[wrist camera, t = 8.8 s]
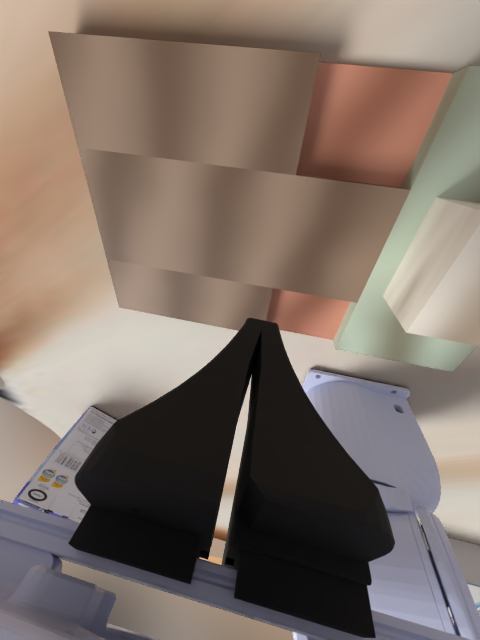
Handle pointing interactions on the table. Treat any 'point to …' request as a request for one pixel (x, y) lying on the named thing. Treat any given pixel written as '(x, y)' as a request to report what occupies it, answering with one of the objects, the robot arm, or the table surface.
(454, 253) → the birch block
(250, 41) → the table surface
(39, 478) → the ink cartridge box
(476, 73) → the trap board
